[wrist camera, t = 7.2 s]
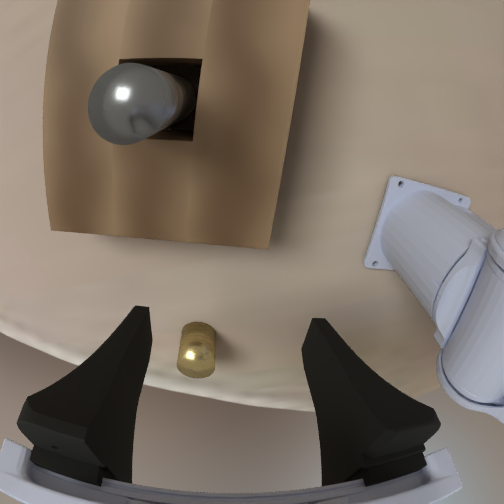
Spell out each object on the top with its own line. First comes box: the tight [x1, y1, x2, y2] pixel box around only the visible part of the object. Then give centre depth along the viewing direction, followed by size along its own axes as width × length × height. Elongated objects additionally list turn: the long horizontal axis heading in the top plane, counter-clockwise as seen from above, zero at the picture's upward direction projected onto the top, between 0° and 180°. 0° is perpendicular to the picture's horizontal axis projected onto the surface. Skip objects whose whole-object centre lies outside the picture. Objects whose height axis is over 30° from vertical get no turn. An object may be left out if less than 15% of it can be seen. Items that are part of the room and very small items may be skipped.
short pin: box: [177, 322, 216, 378], centre depth 25 cm, size 3×3×4 cm
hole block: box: [43, 0, 310, 249], centre depth 15 cm, size 14×16×4 cm
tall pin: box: [88, 63, 196, 145], centre depth 13 cm, size 3×3×9 cm
